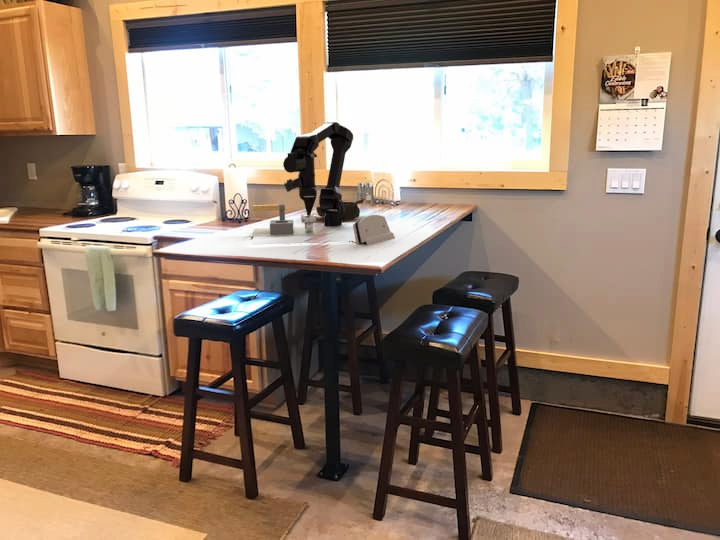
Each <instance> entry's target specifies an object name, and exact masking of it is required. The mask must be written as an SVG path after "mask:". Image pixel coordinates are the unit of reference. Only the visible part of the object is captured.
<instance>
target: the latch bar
mask: <svg viewBox="0 0 720 540" xmlns="http://www.w3.org/2000/svg"><path fill="white" fill-rule="evenodd" d="M279 210H285V211H286V204H283V203H282V204H257V205H256V204H254V205H252V212H267V211H268V212H270V211H279Z"/></svg>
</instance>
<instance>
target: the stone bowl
mask: <svg viewBox="0 0 720 540" xmlns="http://www.w3.org/2000/svg"><path fill="white" fill-rule="evenodd" d="M365 200H366V198H365V197H364V198H362V199H358V200H346V201H345V200H344V201H343V200H342V201H343V203H344V204H345V206H346V210H345V212H344V213H341V215H342V222H350V221H352V220H355V219H358V218H359V217H360V214H361V213H360V212H361V209H360V208H359V206H358V205H359V204H363V203H364V201H365ZM313 208H316V209H315V210H316V213H317V215H318V216H319V217H322V218H324V215H325V212H321V208H320V204H319V203H318V204H314V205H313ZM335 210H337V209H335Z"/></svg>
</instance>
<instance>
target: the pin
mask: <svg viewBox="0 0 720 540" xmlns="http://www.w3.org/2000/svg"><path fill="white" fill-rule="evenodd" d="M300 222H301V223H304V227H305V232H306V233H311V232H313V227H314V223H316V222H317V215H316V214H315V213H311V214H310V215H307V213H304V214H303V213H302V214H300Z"/></svg>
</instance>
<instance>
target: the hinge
mask: <svg viewBox="0 0 720 540" xmlns="http://www.w3.org/2000/svg"><path fill="white" fill-rule="evenodd" d="M352 229H353V234H354V239H355V244H356V245H359V244H363V243H366V246H371V245H375V244H377V243H382V242H385V241H388V240H393V239H395V238H396V237H395V235H394V232H392V231H391V230H390V228H389V224H388V222H387V218H386V217H385V216H384V215H381V214H369V215H366V216H364V217H361V218H359V219H358V220H357V221H355V222H354V223H353V225H352Z"/></svg>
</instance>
